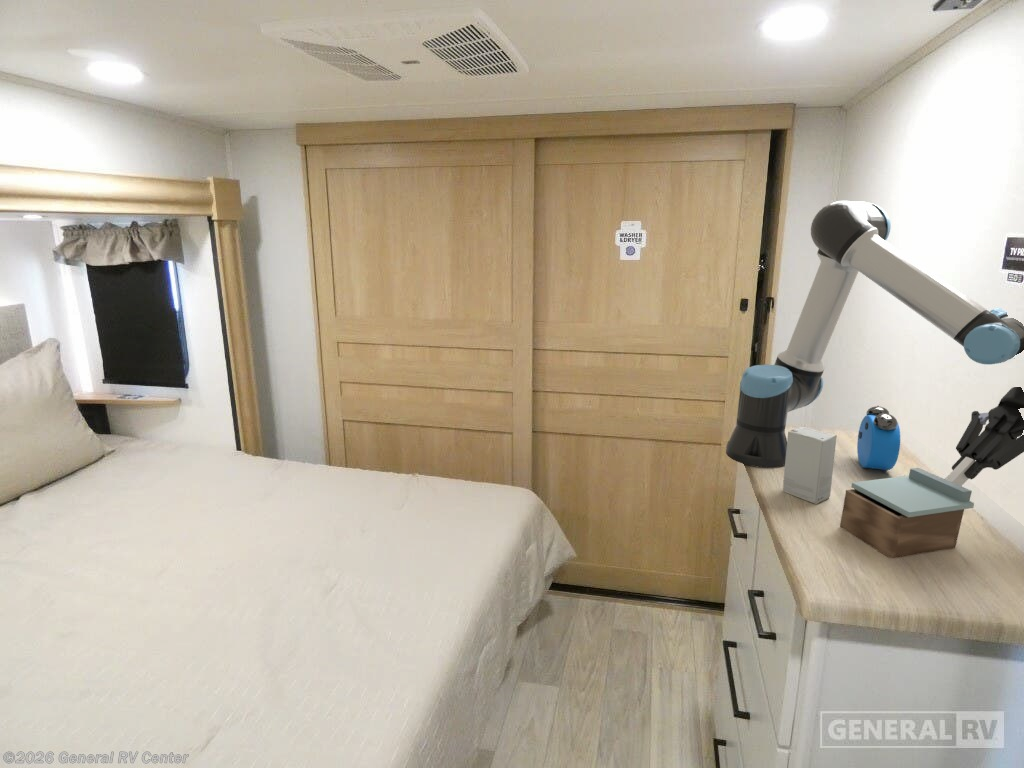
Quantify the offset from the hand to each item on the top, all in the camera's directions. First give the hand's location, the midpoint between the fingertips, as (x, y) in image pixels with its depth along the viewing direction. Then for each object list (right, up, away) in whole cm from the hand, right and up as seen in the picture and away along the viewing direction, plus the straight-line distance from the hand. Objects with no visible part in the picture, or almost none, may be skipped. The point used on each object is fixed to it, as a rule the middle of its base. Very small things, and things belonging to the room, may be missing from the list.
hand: (949, 486), depth 115 cm
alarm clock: (+6, -1, +33) cm, 34 cm away
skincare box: (-19, -5, +18) cm, 27 cm away
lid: (-9, -2, -1) cm, 9 cm away
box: (-10, -10, 0) cm, 14 cm away
